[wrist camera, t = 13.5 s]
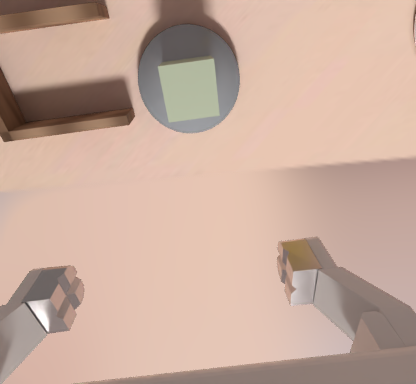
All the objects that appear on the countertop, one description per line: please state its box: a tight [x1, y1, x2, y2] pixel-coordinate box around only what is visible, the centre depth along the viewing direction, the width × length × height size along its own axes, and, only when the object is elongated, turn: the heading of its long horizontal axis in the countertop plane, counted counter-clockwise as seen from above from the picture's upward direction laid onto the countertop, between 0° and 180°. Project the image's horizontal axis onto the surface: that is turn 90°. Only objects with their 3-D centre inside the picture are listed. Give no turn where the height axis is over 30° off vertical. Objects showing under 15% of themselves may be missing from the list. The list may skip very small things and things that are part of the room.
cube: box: [158, 56, 220, 123], centre depth 27 cm, size 5×5×5 cm
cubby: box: [0, 2, 135, 142], centre depth 27 cm, size 14×11×4 cm
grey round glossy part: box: [138, 24, 240, 133], centre depth 29 cm, size 11×11×1 cm
